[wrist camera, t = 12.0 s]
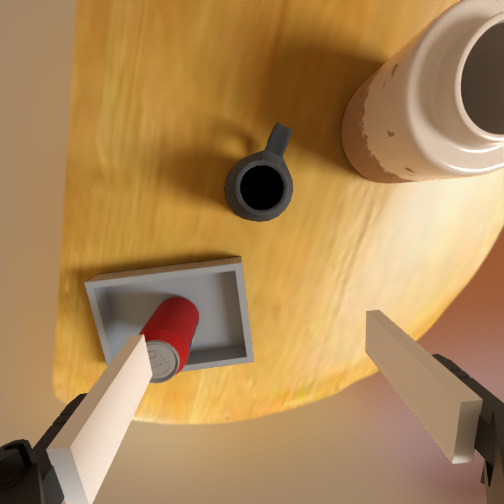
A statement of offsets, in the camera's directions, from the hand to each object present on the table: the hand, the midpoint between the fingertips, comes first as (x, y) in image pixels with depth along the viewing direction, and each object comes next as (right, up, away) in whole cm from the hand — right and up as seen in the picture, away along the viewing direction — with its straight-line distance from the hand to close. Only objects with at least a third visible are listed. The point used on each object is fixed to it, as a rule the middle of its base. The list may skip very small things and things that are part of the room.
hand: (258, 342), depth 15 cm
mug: (+1, +16, +23) cm, 28 cm away
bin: (-12, -4, +26) cm, 29 cm away
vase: (+20, +23, +22) cm, 38 cm away
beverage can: (-12, -4, +26) cm, 29 cm away
